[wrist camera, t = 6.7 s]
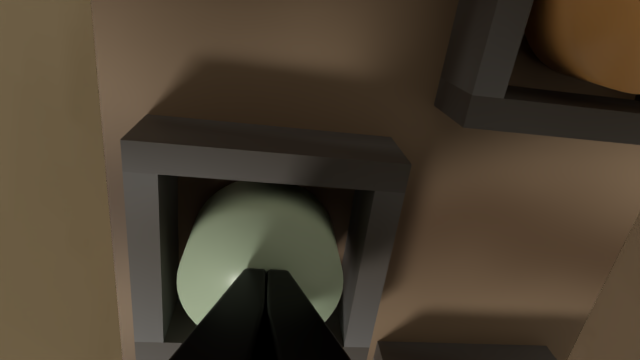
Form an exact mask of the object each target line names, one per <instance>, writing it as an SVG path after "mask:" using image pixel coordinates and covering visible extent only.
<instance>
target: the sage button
mask: <svg viewBox="0 0 640 360" xmlns="http://www.w3.org/2000/svg"><path fill="white" fill-rule="evenodd" d="M246 268H256V269H264V270H265V271H266V273H267V271H268V270H269V269H277V270H287V271H289V272H290V274H291V275H292V277H293V278H294V279H295V281H296V282H297V284H298V285H299V286H300V288H301V289H302V291H303V292H304V293H305V295H306V296H307V298H308V299H309V301H310V302H311V303H312V305H313V306H314V308H315V309H316V310H317V312H318V313H319V315H320V316H321V318H322V319H323V320H324V322H325V321H326V320H327V319H328V318H329V317H330V315H331V314H332V313H333V311H334V310H335V308H336V306H337V304H338V302H339V300H340V297H341V294H342V290H343V270H342V266H341V262H340V257H339V253H338V248H337V244H336V239H335V235H334V231H333V226H332V222H331V219H330V217H329V214H328V213H327V211H326V209H325V207H324V206H323V205H322V203H321V202H320V201H319V200H318V199H317V198H316V197H315V196H314V195H313V194H312V193H310V192H309V191H307V190H306V189H304V188H303V187H301V186H299V185H291V184H277V183H264V182H251V181H237V182H234V183H232V184H229V185H228V186H226V187H224V188H222V189H220V190H219V191H217V192H216V193H215V194H214V195H212V196H211V197H210V198H209V199H208V200H207V201H206V203H205V204H204V205H203V206H202V208H201V209H200V211H199V213H198V215H197V217H196V220H195V222H194V225H193V228H192V231H191V233H190V236H189V239H188V242H187V245H186V247H185V250H184V253H183V256H182V258H181V261H180V264H179V268H178V272H177V291H178V295H179V299H180V301H181V304H182V306H183V308H184V310H185V311H186V313H187V314H188V316H189V317H190V318H191V319H192V320H193V322H194V323H195V324H197V325H198V324H199V323H200V321H201V320H202V319H203V318H204V317H205V315H206V314H207V313H208V312H209V311H210V309H211V308H212V307H213V306H214V305H215V304H216V302H217V301H218V300H219V299H220V298H221V296H222V295H223V294H224V293H225V292H226V290H227V289H228V288H229V287H230V286H231V284H232V283H233V282H234V281H235V280H236V278H237V277H238V276H239V275H240V274H241V272H242V271H243V270H244V269H246Z"/></svg>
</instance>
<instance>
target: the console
mask: <svg viewBox="0 0 640 360" xmlns="http://www.w3.org/2000/svg"><path fill="white" fill-rule="evenodd" d="M533 1H534V0H91V9H92V21H93V32H94V43H95V55H96V66H97V77H98V88H99V100H100V111H101V122H102V134H103V145H104V156H105V167H106V179H107V190H108V201H109V213H110V224H111V235H112V246H113V258H114V269H115V280H116V292H117V303H118V314H119V326H120V337H121V348H122V359H123V360H169V359H170V357H171V356H172V355H173V354H174V353H175V351H176V350H177V349H178V348H179V347H180V345H181V344H182V343H183V342H184V341H185V339H186V338H187V337H188V336H189V335H190V333H191V332H192V331H193V330H194V329H195V327H196V326H197V324H195V323H194V322H193V320H192V319H191V318H190V317H189V316H188V314H187V313H186V311H185V310H184V308H183V306H182V304H181V301H180V299H179V295H178V291H177V272H178V268H179V264H180V261H181V258H182V256H183V253H184V250H185V247H186V245H187V242H188V239H189V236H190V233H191V231H192V228H193V225H194V222H195V220H196V217H197V215H198V213H199V211H200V209H201V208H202V206H203V205H204V204H205V203H206V201H207V200H208V199H209V198H210V197H211V196H212V195H214V194H215V193H216V192H217V191H219V190H220V189H222V188H224V187H226V186H228V185H229V184H232V183H234V182H237V181H251V182H264V183H277V184H291V185H299V186H301V187H303V188H304V189H306V190H307V191H309V192H310V193H312V194H313V195H314V196H315V197H316V198H317V199H318V200H319V201H320V202H321V203H322V205H323V206H324V207H325V209H326V211H327V213H328V214H329V217H330V219H331V222H332V226H333V231H334V235H335V239H336V244H337V248H338V253H339V257H340V262H341V266H342V270H343V290H342V294H341V297H340V300H339V302H338V304H337V306H336V308H335V310H334V311H333V313H332V314H331V315H330V317H329V318H328V319H327V320H326V321H325V323H326V325H327V326H328V327H329V329H330V330H331V332H332V333H333V334H334V336H335V337H336V339H337V340H338V342H339V343H340V344H341V346H342V347H343V349H344V350H345V351H346V353H347V354H348V356H349V357H350V359H351V360H567V359H568V357H569V355H570V353H571V351H572V349H573V347H574V345H575V343H576V341H577V339H578V337H579V335H580V332H581V330H582V328H583V326H584V324H585V322H586V320H587V318H588V316H589V314H590V312H591V310H592V308H593V306H594V304H595V302H596V300H597V298H598V296H599V294H600V292H601V290H602V288H603V286H604V284H605V282H606V280H607V278H608V276H609V274H610V272H611V270H612V268H613V266H614V263H615V261H616V259H617V257H618V255H619V253H620V251H621V249H622V247H623V245H624V243H625V241H626V239H627V237H628V235H629V233H630V231H631V229H632V227H633V225H634V223H635V221H636V219H637V217H638V215H639V213H640V94H630V93H625V92H621V91H617V90H614V89H611V88H607V87H604V86H601V85H597V84H594V83H591V82H588V81H584V80H581V79H578V78H574V77H571V76H568V75H564V74H562V73H559V72H556V71H554V70H552V69H551V68H549V67H547V66H546V65H545V64H544V63H542V62H541V61H540V60H539V59H538V57H537V56H536V55H535V54H534V52H533V51H532V49H531V47H530V46H529V43H528V41H527V39H526V36H525V32H524V31H525V27H526V24H527V21H528V17H529V14H530V11H531V8H532V4H533Z"/></svg>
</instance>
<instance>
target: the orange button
mask: <svg viewBox="0 0 640 360" xmlns="http://www.w3.org/2000/svg"><path fill="white" fill-rule="evenodd" d="M524 32H525V36H526V39H527V41H528V43H529V46H530V47H531V49H532V51H533V52H534V54H535V55H536V56H537V57H538V59H539V60H540V61H541V62H542V63H544V64H545V65H546V66H547V67H549V68H551V69H552V70H554V71H556V72H559V73H562V74H564V75H568V76H571V77H574V78H578V79H581V80H584V81H588V82H591V83H594V84H597V85H601V86H604V87H607V88H611V89H614V90H617V91H621V92H625V93H630V94H640V0H534V1H533V4H532V8H531V11H530V14H529V17H528V21H527V24H526V27H525V31H524Z"/></svg>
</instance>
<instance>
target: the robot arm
mask: <svg viewBox="0 0 640 360" xmlns="http://www.w3.org/2000/svg"><path fill="white" fill-rule="evenodd" d="M169 360H351V359H350V357H349V356H348V354H347V353H346V351H345V350H344V349H343V347H342V346H341V344H340V343H339V342H338V340H337V339H336V337H335V336H334V334H333V333H332V332H331V330H330V329H329V327H328V326H327V325H326V323H325V322H324V320H323V319H322V318H321V316H320V315H319V313H318V312H317V310H316V309H315V308H314V306H313V305H312V303H311V302H310V301H309V299H308V298H307V296H306V295H305V293H304V292H303V291H302V289H301V288H300V286H299V285H298V284H297V282H296V281H295V279H294V278H293V277H292V275H291V274H290V272H289V271H287V270H277V269H269V270H268V271H267V273H266V271H265V270H264V269H256V268H246V269H244V270H243V271H242V272H241V274H240V275H239V276H238V277H237V278H236V280H235V281H234V282H233V283H232V284H231V286H230V287H229V288H228V289H227V290H226V292H225V293H224V294H223V295H222V296H221V298H220V299H219V300H218V301H217V302H216V304H215V305H214V306H213V307H212V308H211V309H210V311H209V312H208V313H207V314H206V315H205V317H204V318H203V319H202V320H201V321H200V323H199V324H198V325H197V326H196V327H195V329H194V330H193V331H192V332H191V333H190V335H189V336H188V337H187V338H186V339H185V341H184V342H183V343H182V344H181V345H180V347H179V348H178V349H177V350H176V351H175V353H174V354H173V355H172V356H171V357H170V359H169Z"/></svg>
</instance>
